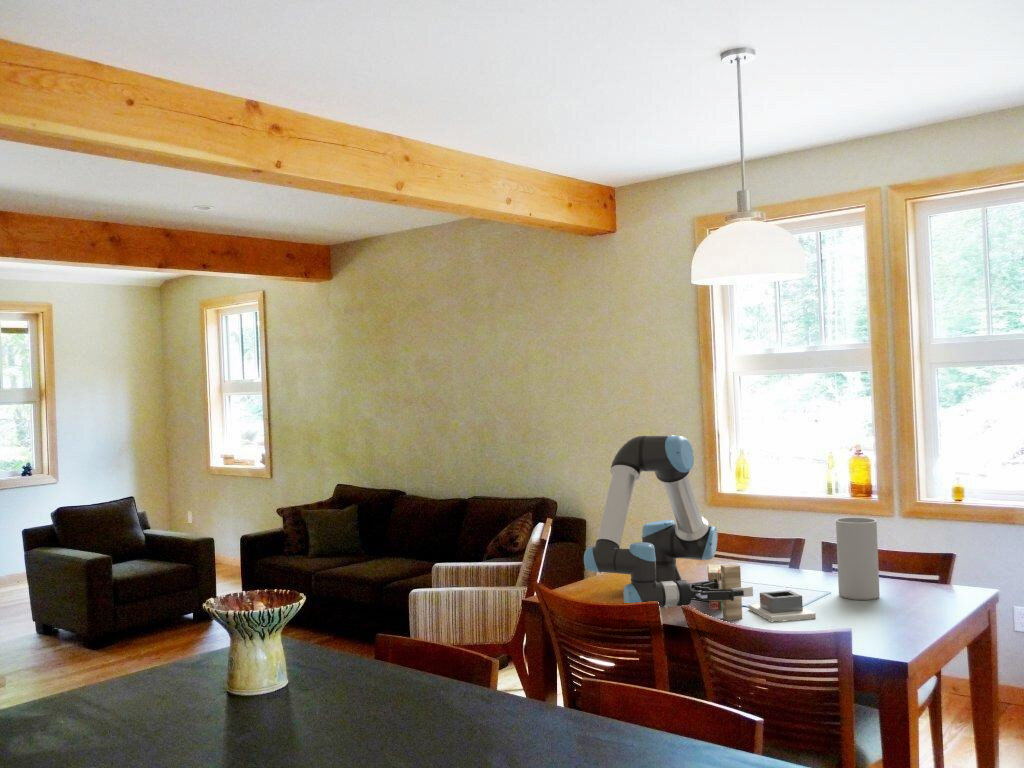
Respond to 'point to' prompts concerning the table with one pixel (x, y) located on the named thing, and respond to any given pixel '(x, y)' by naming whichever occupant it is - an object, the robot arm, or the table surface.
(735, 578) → the ash slat
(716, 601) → the stack of blocks
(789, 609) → the grey rectangular socket
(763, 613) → the base board
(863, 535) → the cylinder vase
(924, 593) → the table surface
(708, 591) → the robot arm
